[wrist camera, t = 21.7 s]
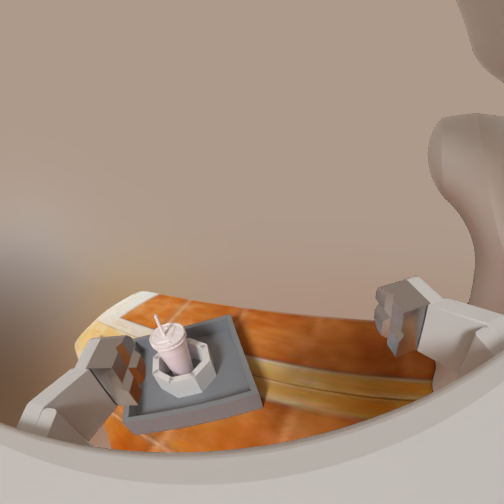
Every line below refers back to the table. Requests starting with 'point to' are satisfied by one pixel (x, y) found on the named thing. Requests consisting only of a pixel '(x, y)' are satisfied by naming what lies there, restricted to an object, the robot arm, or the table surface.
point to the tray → (194, 382)
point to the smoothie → (172, 347)
